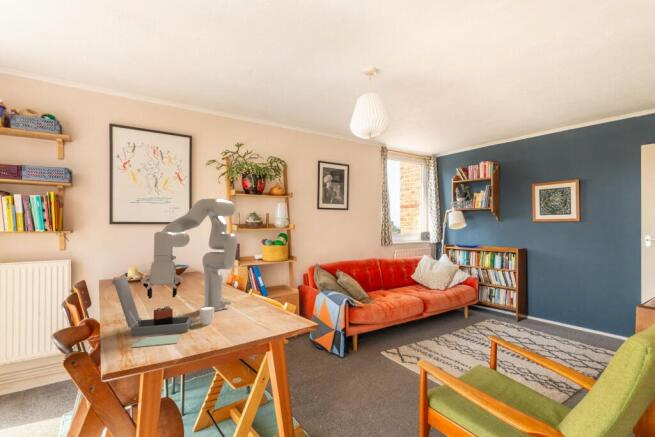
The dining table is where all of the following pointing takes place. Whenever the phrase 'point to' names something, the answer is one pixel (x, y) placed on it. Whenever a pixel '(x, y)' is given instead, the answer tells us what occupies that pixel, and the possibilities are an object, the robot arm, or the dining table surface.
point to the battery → (163, 316)
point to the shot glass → (206, 315)
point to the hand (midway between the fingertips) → (162, 297)
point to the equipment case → (159, 326)
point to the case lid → (126, 299)
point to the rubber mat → (156, 340)
